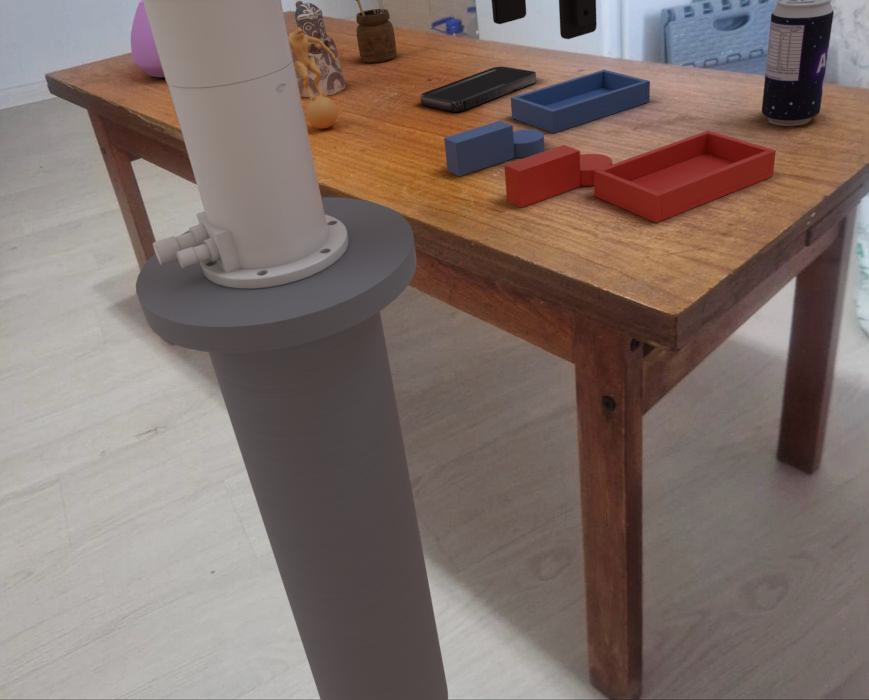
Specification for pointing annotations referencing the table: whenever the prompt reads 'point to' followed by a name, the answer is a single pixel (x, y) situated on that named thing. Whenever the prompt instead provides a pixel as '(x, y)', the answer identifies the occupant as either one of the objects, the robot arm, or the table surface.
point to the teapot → (144, 44)
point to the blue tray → (580, 100)
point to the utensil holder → (375, 35)
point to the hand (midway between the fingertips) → (542, 27)
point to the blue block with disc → (490, 147)
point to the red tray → (683, 175)
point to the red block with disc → (550, 174)
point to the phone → (477, 88)
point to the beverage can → (796, 60)
